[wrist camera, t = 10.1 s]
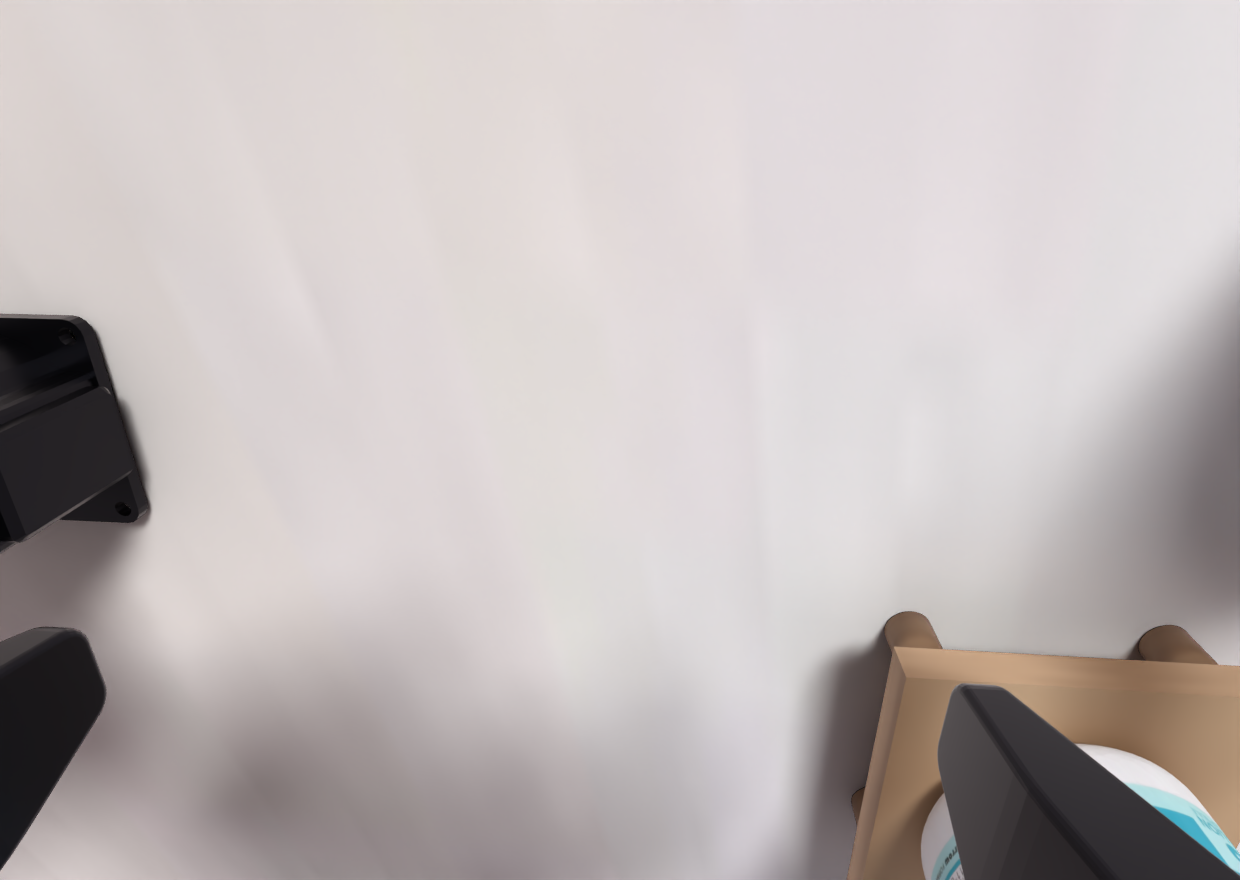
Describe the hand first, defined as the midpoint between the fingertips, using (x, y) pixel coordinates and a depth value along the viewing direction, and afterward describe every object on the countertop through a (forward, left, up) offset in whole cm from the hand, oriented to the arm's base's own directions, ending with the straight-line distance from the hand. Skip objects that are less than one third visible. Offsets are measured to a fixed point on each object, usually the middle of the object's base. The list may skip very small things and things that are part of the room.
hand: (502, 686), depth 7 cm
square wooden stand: (+13, -13, -13) cm, 23 cm away
